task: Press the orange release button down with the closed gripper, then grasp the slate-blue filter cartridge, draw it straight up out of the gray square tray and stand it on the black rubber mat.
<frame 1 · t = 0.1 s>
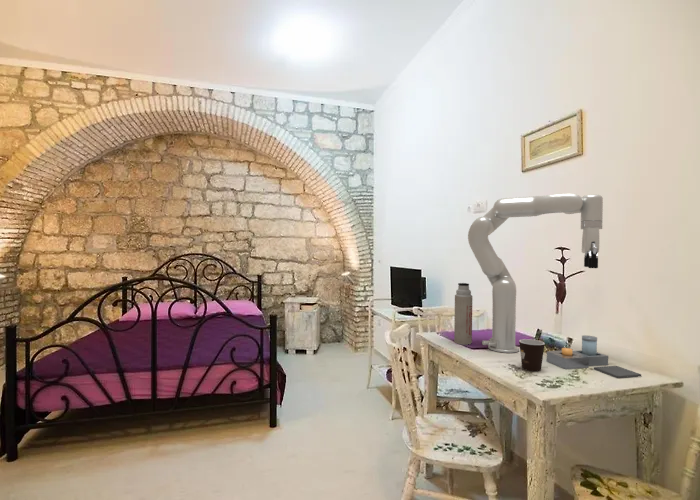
hand: (590, 267, 158), 37 cm above the table, tool pointing down, fingers open, 9 cm apart
plunger button: (567, 353, 150), point 4 cm above the table, slide at 0.0 cm
filter cartridge: (589, 349, 153), in the gray square tray
gray square tray: (589, 362, 153), on the table
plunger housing: (566, 364, 150), on the table
coffee mug: (531, 368, 145), on the table
thermos bottle: (462, 343, 182), on the table
rubber mat: (616, 372, 140), on the table
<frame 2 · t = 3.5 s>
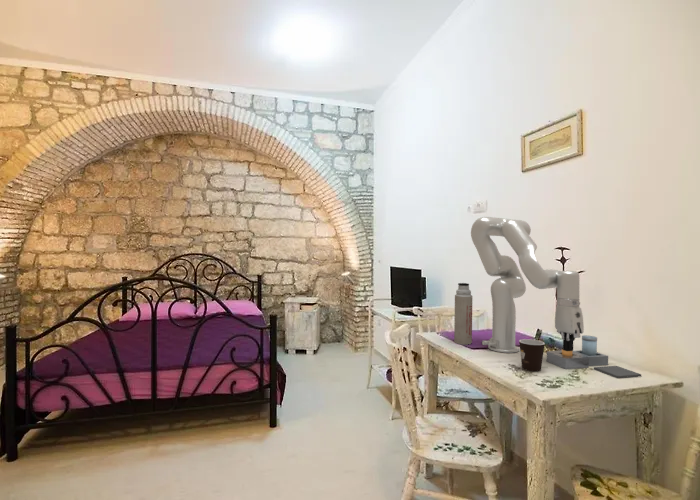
hand: (568, 350, 149), 6 cm above the table, tool pointing down, fingers closed
plunger button: (567, 354, 150), point 4 cm above the table, slide at 0.5 cm, touching gripper
everything else where it was.
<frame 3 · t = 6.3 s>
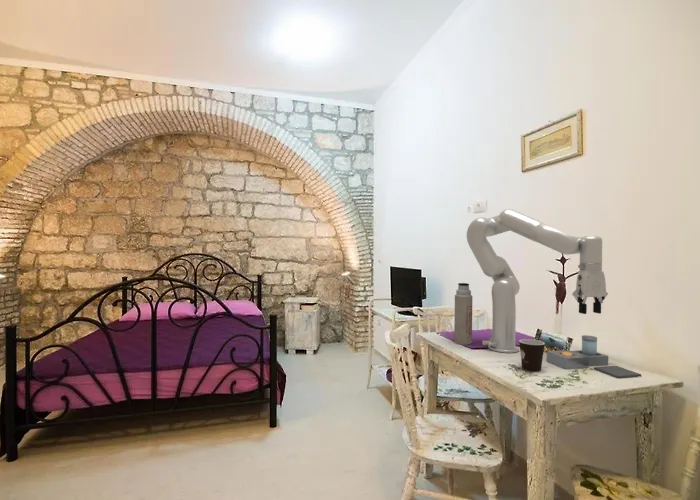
hand: (589, 312, 153), 20 cm above the table, tool pointing down, fingers open, 6 cm apart
plunger button: (567, 357, 150), point 3 cm above the table, slide at 1.6 cm
everything else where it was.
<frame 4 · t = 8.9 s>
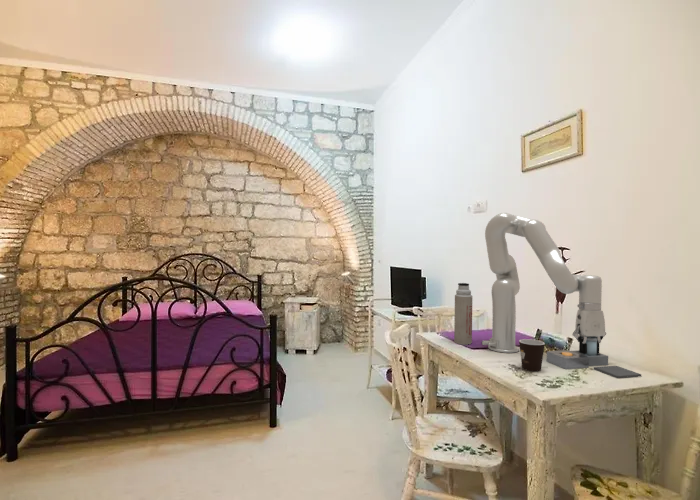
hand: (589, 352, 153), 4 cm above the table, tool pointing down, fingers closed on filter cartridge, 5 cm apart
filter cartridge: (589, 349, 153), in the gray square tray, touching gripper
everything else where it was.
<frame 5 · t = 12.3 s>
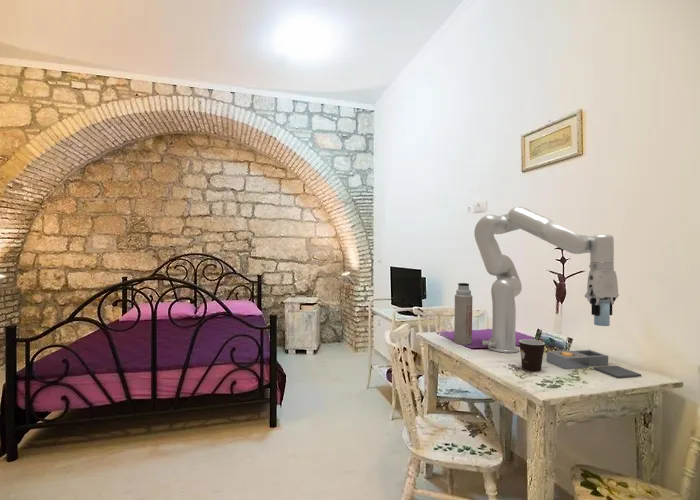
hand: (601, 314, 147), 20 cm above the table, tool pointing down, fingers closed on filter cartridge, 5 cm apart
filter cartridge: (601, 311, 147), point 21 cm above the table, touching gripper
everything else where it was.
when the fingers open (6 cm above the table, at t = 15.7 s): filter cartridge drops 1 cm, resting on rubber mat.
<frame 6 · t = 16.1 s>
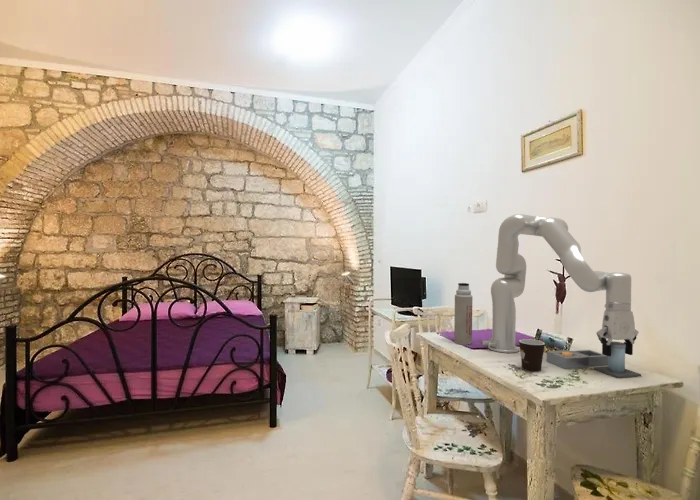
hand: (617, 354, 140), 7 cm above the table, tool pointing down, fingers open, 8 cm apart
filter cartridge: (616, 356, 140), on the rubber mat, point 6 cm above the table
everything else where it was.
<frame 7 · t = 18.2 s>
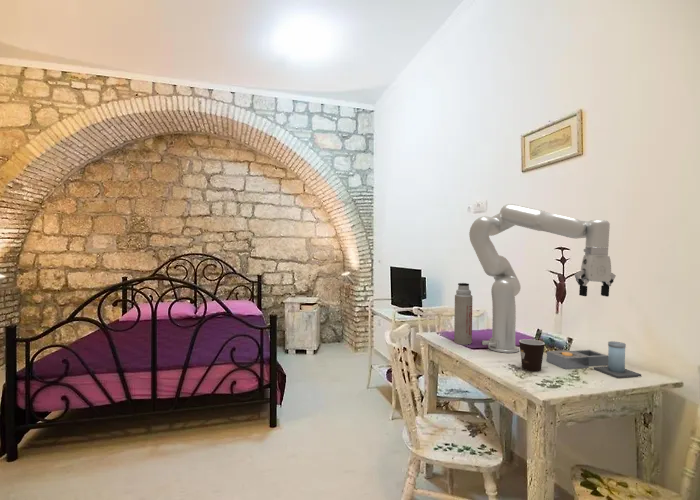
hand: (593, 295, 151), 26 cm above the table, tool pointing down, fingers open, 9 cm apart
nothing on the table moved.
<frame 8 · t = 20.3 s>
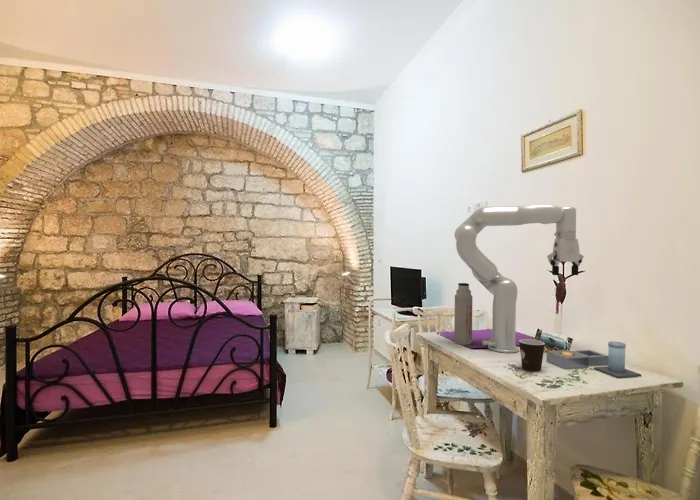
hand: (565, 275, 167), 33 cm above the table, tool pointing down, fingers open, 9 cm apart
nothing on the table moved.
at the end: plunger button slide at 1.6 cm; filter cartridge 0.2 cm off-centre on the rubber mat, point 5.8 cm above the rubber mat's base; filter cartridge tilted 0° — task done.
